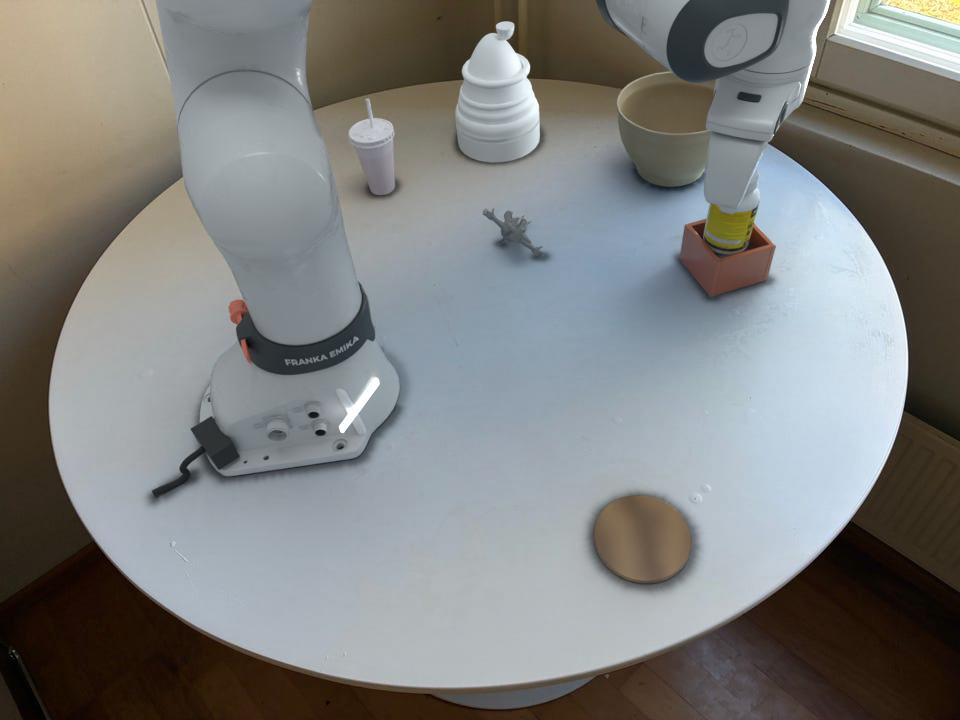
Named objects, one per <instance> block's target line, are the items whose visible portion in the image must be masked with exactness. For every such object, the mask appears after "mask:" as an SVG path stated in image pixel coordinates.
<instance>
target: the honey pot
mask: <svg viewBox="0 0 960 720" xmlns="http://www.w3.org/2000/svg"><path fill="white" fill-rule="evenodd" d="M495 29H496V32H490V33H488V34H486V35H484V36H483V37H482V38H481V39H480V40H479V42H478V43H477V44H476V45H475V48H474V50H473V52H472V54H471V56H470V58H469V59H467V60H466V62H465V63H464V64H463V66H462V68H461V75H462V78H463V82H462V84H461V86H460V87H459V95H458V100H457V104H456V105H455V110H454V116H455V126H456V127H455V129H456V138H457V145H458V148H459V149H460V151H461V152H462V153H463V154H464V155H465V156H467V157H468V158H470V159H473V160H476V161H479V162H485V163H504V162H511V161H515V160H517V159H521V158H523V157H525V156H527V155H529V154H530V153H532V152H533V151H534V150H535V149H536V148H537V146H539V145H538V144H540V138H541V137H540V136H541V130H540V129H541V128H540V124H541V122H540V105H539V102H538V99H537V98H536V95H535V92H534V90H533V86H532V83H531V80H530V79H528V75H529V74H530V71H531V64H530V61H529V60H528V59H527V58H526V57H525V56H524V55H522V54H520V53H517V52H516V51H515V50H514V48H513V47H512V46H511V44H510V43H509V41H507V40H509V39H511V38H512V36H513V35H514V32H515V23H514V22H512V21H501V22H498V23H497V24H495Z"/></svg>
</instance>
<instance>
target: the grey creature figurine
mask: <svg viewBox="0 0 960 720" xmlns="http://www.w3.org/2000/svg"><path fill="white" fill-rule="evenodd" d="M513 213H514V211H513V210H512V209H507V210H506V211H505V212H504V214H503V220H504V221H502V220H500V219H499V218H498V217H497V216H496V215H495V208H494V207H493V208H492V209H491V211H489V210H488V209H487V208H484V209H483V210H482V215H483V216H484V217H486V218H487V219H488V220H489V221H492V222H494V223H495V224H496V225H497V226H498V227H499V229H500V235H501V236H502V238H501V239H500V240H499V241H498V244H501V243H503V242H505V241H506V242H507V243H510V244H518V245H522V246H523V247H524V248H527V249H529V250H530V251H531V252H532V254H533V255H535V256H536V257H538V258H543V257H544V255H545V252H543V251H542V250H541V249H542V248H544V246H543V245H540V246H535V245H533V244H532V240H531V239H530V238H529V237H528V235H526V229H527V228H528V225H530V224H531V223H533V221H532V220H530V221H527V219H525V217H526V216H525V215H526V214H522V216H520V215H519V216H516V217H513Z"/></svg>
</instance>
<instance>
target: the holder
mask: <svg viewBox="0 0 960 720" xmlns="http://www.w3.org/2000/svg"><path fill="white" fill-rule="evenodd" d="M706 219H707V218H704V219H700V220H696V221H693V222H689V223H686V224H684V225H683V226H684V227H683V234H682V240H681V246H680V253H679V260H680V261H681V263H682V264H683V265H684V267H685V268H686V269H687V270H688V271H689V272H690V274H691V275H692V276H693V278H694V279H695V280H696V282H697V283H698V284H699V285H700V286H701V288H702V289H703V291H705V292H706V294H707V295H708V297H709V298H712V297H714V296H715V297H716V296H719V295H723V294H725V293H729V292H732V291H737V290H738V289H742V288H746V287H749V286H752V285H756V284H760V283H762V282H766V281H768V278H769V274H770V270H771V267H772V263H773V259H774V255H775V252H776V248H777V245H776V244H775V243H774V242H773V241H772V240H771V238H769V237H768V236H767V234H765V232H764V231H763V230H762V229H761V228H760V227H759V226H758V224H756V223H755V222H754V225H753V229H752V232H751V236H750V240H749V244H748V246H747V248H746V249H745V250H744V251H742V252H740V253H738V254H733V255H727V256H723V257H721V258H719V257H718V256H717V255H716V254H715V252H713V251H712V250H711V249H710V248H709V247H708V245H707V244H706V243H705V242H704V241H703V235H704V229H705V224H706Z"/></svg>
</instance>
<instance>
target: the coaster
mask: <svg viewBox="0 0 960 720" xmlns="http://www.w3.org/2000/svg"><path fill="white" fill-rule="evenodd" d="M593 542H594V546H595V550H596V553H597V555H598V557H599V559H600V560H601V562H602V563H603V565H605V567H607V568H608V570H610V571H611V572H612V573H613V574H615V575H617V576H618V577H620V578H622V579H623V580H626V581H629V582H632V583H637V584H657V583H661V582H664V581H667V580H669V579H671V578H672V577H674V576H675V575H677V574H678V573H679V572H681V570H682V569H683V568H684V566H685V565H686V563H687V562H688V559H689V558H690V554H691V549H692V535H691V531H690V529H689V526H688V523H687V522H686V520H685V519H684V517H683V516H682V514H681V513H680V512H679V511H678V510H677V509H675V508H674V506H672V505H670V504H669V503H667V502H666V501H664V500H661V499H659V498H656V497H653V496H648V495H643V494H642V495H641V494H635V495H627V496H623V497H619V498H617V499H615V500H613V501H612V502H611V503H609V504H608V505H606V506H605V507H604V508H603V509H602V511H601V512H600V513H599V515H598V517H597V518H596V521H595V524H594V529H593Z"/></svg>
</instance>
